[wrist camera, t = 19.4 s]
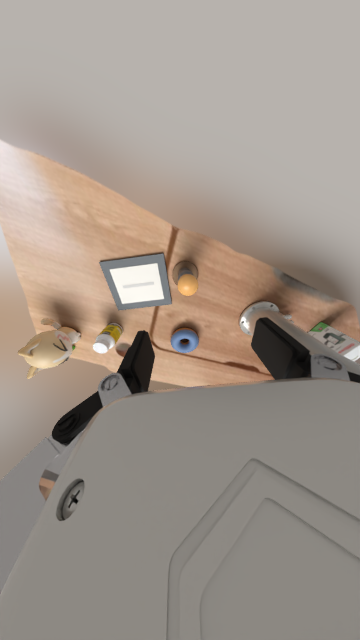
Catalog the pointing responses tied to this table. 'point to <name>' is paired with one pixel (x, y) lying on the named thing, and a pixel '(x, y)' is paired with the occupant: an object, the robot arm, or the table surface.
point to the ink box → (336, 341)
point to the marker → (187, 282)
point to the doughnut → (186, 334)
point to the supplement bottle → (107, 338)
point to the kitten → (49, 347)
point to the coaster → (184, 265)
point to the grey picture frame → (138, 281)
